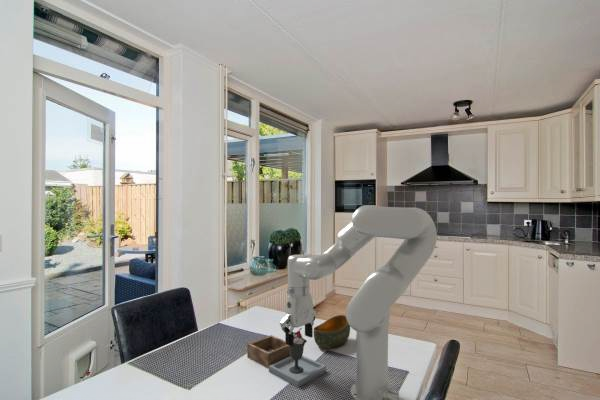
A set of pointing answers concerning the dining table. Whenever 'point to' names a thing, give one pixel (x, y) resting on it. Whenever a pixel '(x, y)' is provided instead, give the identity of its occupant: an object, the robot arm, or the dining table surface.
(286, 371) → the tray
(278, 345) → the holder
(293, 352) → the sundae
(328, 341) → the green bowl
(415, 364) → the dining table surface
